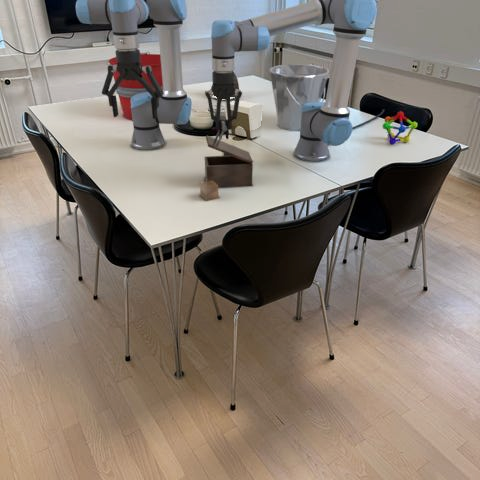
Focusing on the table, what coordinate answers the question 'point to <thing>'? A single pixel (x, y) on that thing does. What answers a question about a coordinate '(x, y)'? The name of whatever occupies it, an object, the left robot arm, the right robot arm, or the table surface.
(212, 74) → the right robot arm
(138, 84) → the bucket
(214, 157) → the chest
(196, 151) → the table surface
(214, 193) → the block
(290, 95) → the bucket
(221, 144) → the lid
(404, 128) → the educational toy
